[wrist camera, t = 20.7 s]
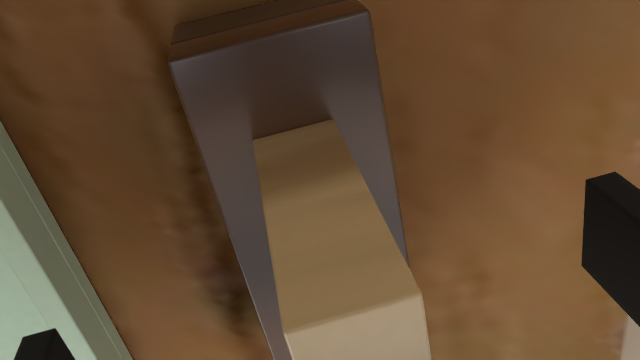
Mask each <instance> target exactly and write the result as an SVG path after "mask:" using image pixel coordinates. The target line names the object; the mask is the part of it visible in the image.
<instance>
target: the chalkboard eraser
mask: <svg viewBox="0 0 640 360" xmlns="http://www.w3.org/2000/svg"><path fill="white" fill-rule="evenodd" d="M167 64H168V67H169V70H170V73H171V76H172V78H173V81H174V84H175V87H176V89H177V92H178V95H179V98H180V101H181V103H182V106H183V109H184V112H185V115H186V117H187V120H188V123H189V126H190V129H191V131H192V134H193V137H194V140H195V142H196V145H197V148H198V151H199V154H200V156H201V159H202V162H203V165H204V168H205V170H206V173H207V176H208V179H209V182H210V184H211V187H212V190H213V193H214V195H215V198H216V201H217V204H218V207H219V209H220V212H221V215H222V218H223V221H224V223H225V226H226V229H227V232H228V234H229V237H230V240H231V243H232V246H233V248H234V251H235V254H236V257H237V260H238V262H239V265H240V268H241V271H242V274H243V276H244V279H245V282H246V285H247V287H248V290H249V293H250V296H251V299H252V301H253V304H254V307H255V310H256V313H257V315H258V318H259V321H260V324H261V326H262V329H263V332H264V335H265V338H266V340H267V343H268V346H269V349H270V352H271V354H272V357H273V360H432V359H431V352H430V345H429V338H428V331H427V324H426V317H425V310H424V303H423V296H422V293H421V291H420V289H419V287H418V285H417V283H416V281H415V279H414V277H413V275H412V273H411V271H410V268H409V262H408V255H407V249H406V242H405V236H404V229H403V223H402V216H401V210H400V203H399V197H398V191H397V184H396V178H395V171H394V165H393V158H392V152H391V145H390V139H389V132H388V126H387V119H386V113H385V107H384V100H383V94H382V87H381V81H380V74H379V68H378V61H377V55H376V48H375V42H374V35H373V29H372V23H371V16H370V12H369V10H368V9H367V8H366V7H365V6H363V5H362V4H361V3H360V2H359V1H358V0H277V1H273V2H269V3H265V4H261V5H257V6H253V7H249V8H245V9H241V10H237V11H233V12H229V13H225V14H221V15H217V16H213V17H209V18H205V19H201V20H197V21H193V22H189V23H185V24H181V25H177V26H175V28H174V32H173V37H172V41H171V47H170V52H169V56H168V61H167Z"/></svg>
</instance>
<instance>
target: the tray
mask: <svg viewBox="0 0 640 360" xmlns="http://www.w3.org/2000/svg"><path fill="white" fill-rule="evenodd" d="M53 328H56V330H57V331H58V333H59V334H60V336H61V337H62V339H63V341H64V342H65V344H66V345H67V347H68V348H69V350H70V352H71V353H72V355H73V356H74V358H75V360H133V359H132V357H131V355H130V353H129V351H128V350H127V348H126V346H125V344H124V342H123V341H122V339H121V337H120V335H119V333H118V332H117V330H116V328H115V326H114V324H113V323H112V321H111V319H110V317H109V315H108V314H107V312H106V310H105V308H104V306H103V305H102V303H101V301H100V299H99V297H98V296H97V294H96V292H95V290H94V288H93V287H92V285H91V283H90V281H89V279H88V278H87V276H86V274H85V272H84V270H83V269H82V267H81V265H80V263H79V261H78V260H77V258H76V256H75V254H74V252H73V251H72V249H71V247H70V245H69V243H68V242H67V240H66V238H65V236H64V234H63V233H62V231H61V229H60V227H59V225H58V224H57V222H56V220H55V218H54V216H53V215H52V213H51V211H50V209H49V207H48V206H47V204H46V202H45V200H44V198H43V197H42V195H41V193H40V191H39V189H38V188H37V186H36V184H35V182H34V180H33V179H32V177H31V175H30V173H29V171H28V170H27V168H26V166H25V164H24V162H23V161H22V159H21V157H20V155H19V153H18V152H17V150H16V148H15V146H14V144H13V143H12V141H11V139H10V137H9V135H8V134H7V132H6V130H5V128H4V126H3V125H2V123H1V121H0V360H14V358H15V355H16V353H17V350H18V348H19V345H20V343H21V340H22V338H23V337H24V336H28V335H32V334H35V333H39V332H42V331H46V330H50V329H53Z"/></svg>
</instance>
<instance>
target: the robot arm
mask: <svg viewBox="0 0 640 360" xmlns="http://www.w3.org/2000/svg"><path fill="white" fill-rule="evenodd" d="M582 267H583V268H584V269H585V270H586V271H587V272H588V273H589V274H590V275H591V276H592V277H593V278H594V279H595V280H596V281H597V282H598V283H599V284H600V285H601V287H602V288H603V289H604V290H605V291H606V292H607V293H608V294H609V295H610V296H611V297H612V298H613V299H614V300H615V301H616V302H617V303H618V304H619V306H620V307H621V308H622V309H623V310H624V311H625V312H626V313H627V314H628V315H629V316H630V317H631V318H632V319H633V320H634V321H635V322H636V323H637V324H638V326H639V327H640V189H638V188H637V187H635V186H634V185H633V184H631V183H630V182H629V181H627V180H626V179H625V178H623V177H622V176H621V175H619V174H618V173H616V172H612V173H609V174H605V175H601V176H598V177H594V178H591V179H587V180H586V187H585V207H584V227H583V247H582ZM14 360H75V358H74V356H73V355H72V353H71V352H70V350H69V348H68V347H67V345H66V344H65V342H64V341H63V339H62V337H61V336H60V334H59V333H58V331H57V330H56V328H53V329H50V330H46V331H42V332H39V333H35V334H32V335H28V336H24V337H23V338H22V340H21V343H20V345H19V348H18V350H17V353H16V355H15V358H14Z"/></svg>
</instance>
